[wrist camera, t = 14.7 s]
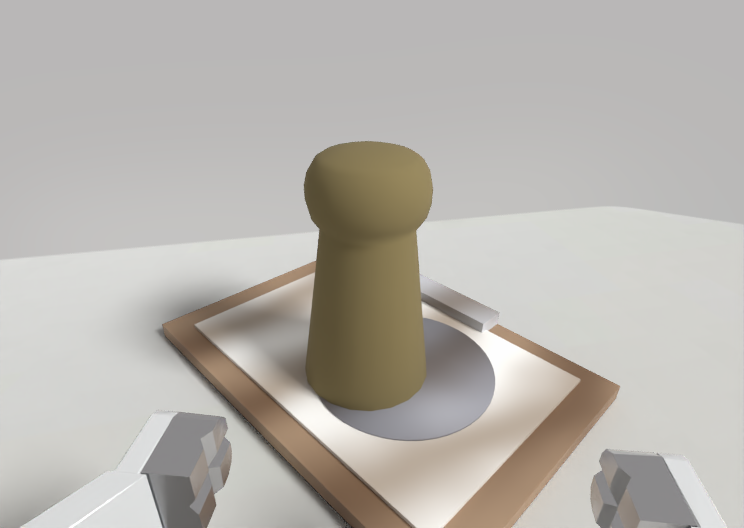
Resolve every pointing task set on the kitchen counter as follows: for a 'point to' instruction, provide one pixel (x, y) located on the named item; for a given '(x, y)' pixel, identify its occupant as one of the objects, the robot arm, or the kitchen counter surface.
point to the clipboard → (402, 408)
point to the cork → (367, 274)
